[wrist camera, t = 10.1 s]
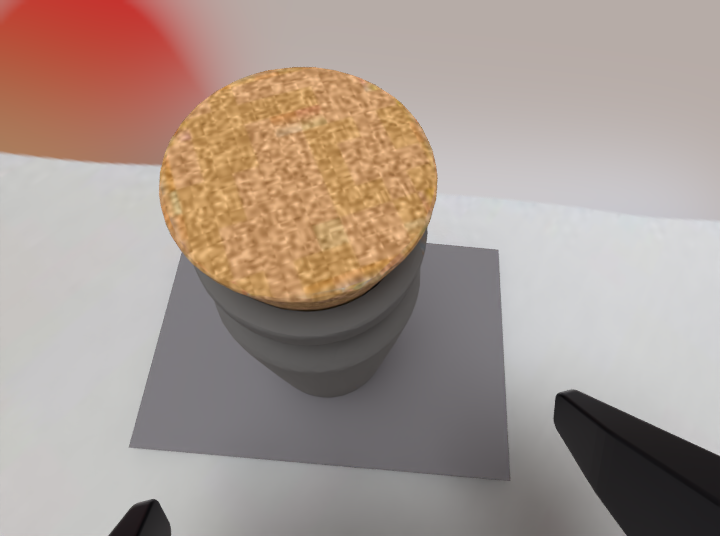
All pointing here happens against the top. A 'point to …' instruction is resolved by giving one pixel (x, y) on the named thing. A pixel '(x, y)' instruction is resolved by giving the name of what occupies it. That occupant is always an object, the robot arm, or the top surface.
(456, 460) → the mat
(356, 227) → the bottle
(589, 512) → the top surface
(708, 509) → the robot arm
